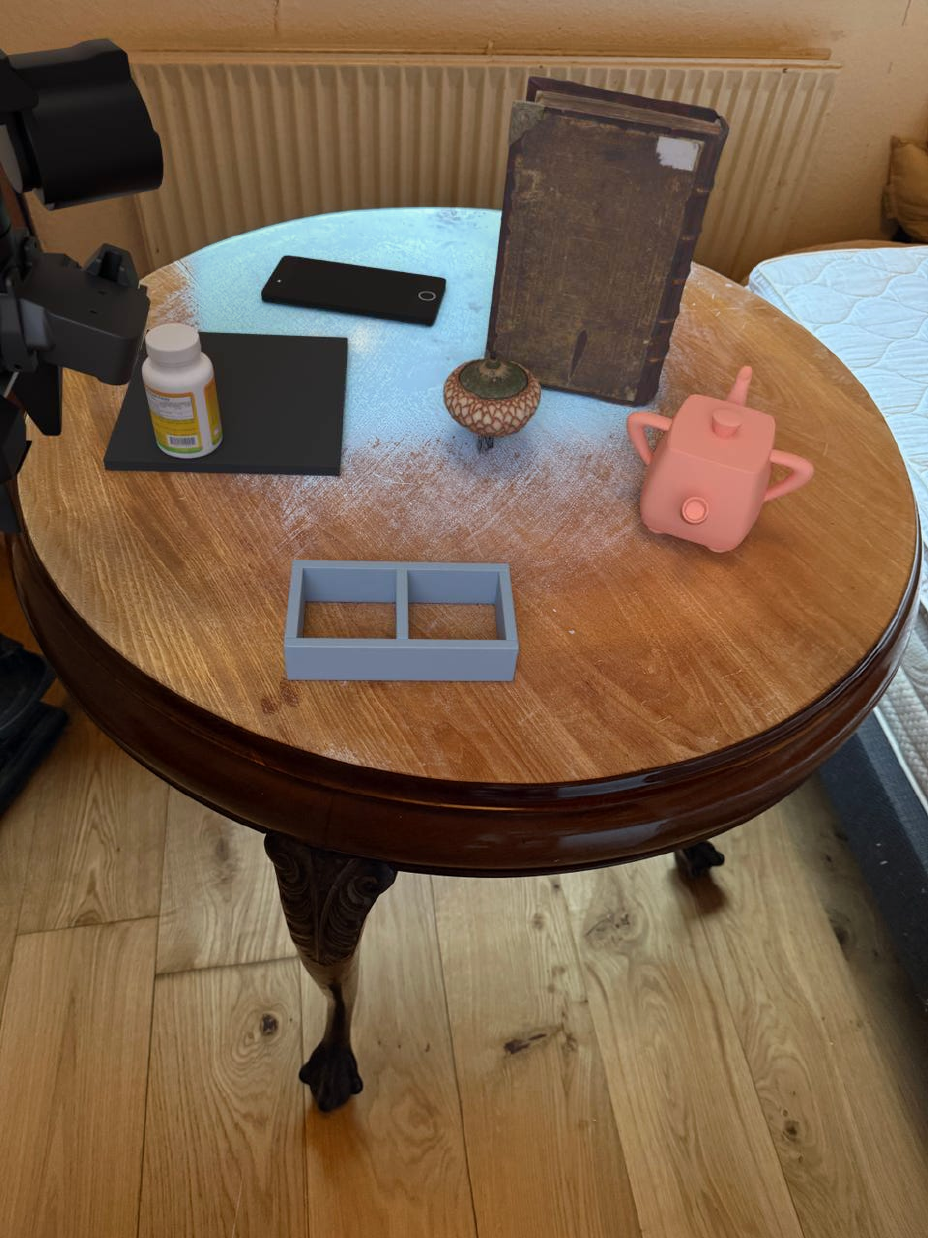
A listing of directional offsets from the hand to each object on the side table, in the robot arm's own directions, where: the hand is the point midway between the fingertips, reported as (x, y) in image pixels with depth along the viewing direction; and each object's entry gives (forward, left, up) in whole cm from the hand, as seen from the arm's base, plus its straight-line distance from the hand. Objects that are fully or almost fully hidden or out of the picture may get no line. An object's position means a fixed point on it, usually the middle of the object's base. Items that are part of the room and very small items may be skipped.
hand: (34, 480), depth 56 cm
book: (+39, +31, -12) cm, 51 cm away
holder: (+23, -2, -12) cm, 26 cm away
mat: (+8, +26, -12) cm, 30 cm away
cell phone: (+18, +46, -12) cm, 51 cm away
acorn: (+30, +20, -12) cm, 38 cm away
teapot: (+47, +12, -12) cm, 50 cm away
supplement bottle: (+5, +19, -11) cm, 23 cm away
